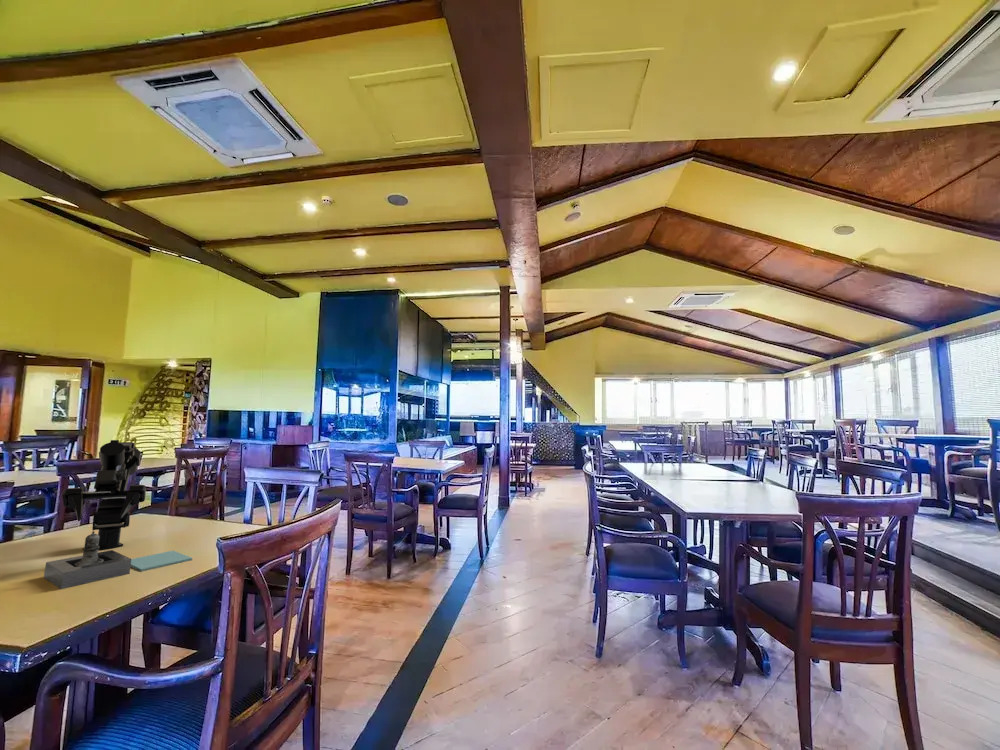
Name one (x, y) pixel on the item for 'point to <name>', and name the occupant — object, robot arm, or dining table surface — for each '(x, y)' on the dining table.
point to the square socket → (86, 569)
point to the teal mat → (158, 560)
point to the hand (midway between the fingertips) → (100, 518)
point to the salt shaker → (90, 551)
